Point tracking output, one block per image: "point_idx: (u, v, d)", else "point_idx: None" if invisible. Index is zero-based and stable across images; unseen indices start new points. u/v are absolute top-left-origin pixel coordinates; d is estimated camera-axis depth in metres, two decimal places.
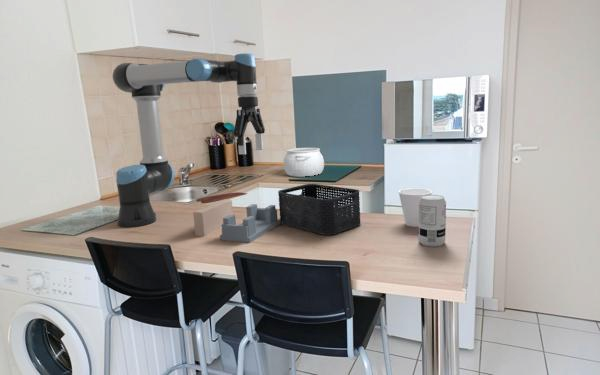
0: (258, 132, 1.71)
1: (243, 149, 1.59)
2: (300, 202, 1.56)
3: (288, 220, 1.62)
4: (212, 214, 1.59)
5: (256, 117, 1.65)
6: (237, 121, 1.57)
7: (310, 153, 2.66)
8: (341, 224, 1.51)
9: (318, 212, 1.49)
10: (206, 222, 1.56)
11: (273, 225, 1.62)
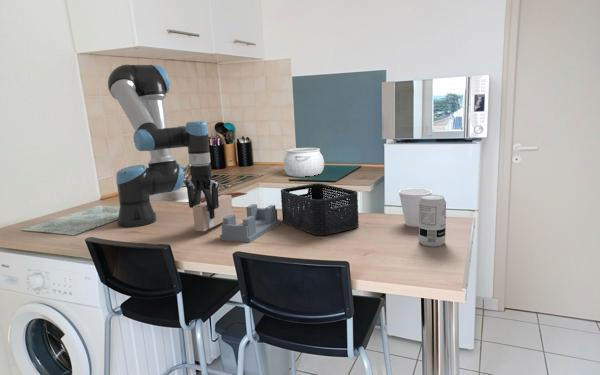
0: None
1: None
2: (297, 201, 1.57)
3: (288, 219, 1.64)
4: None
5: (203, 189, 1.54)
6: None
7: (310, 153, 2.66)
8: (334, 225, 1.50)
9: (311, 212, 1.49)
10: (206, 217, 1.56)
11: (273, 225, 1.62)
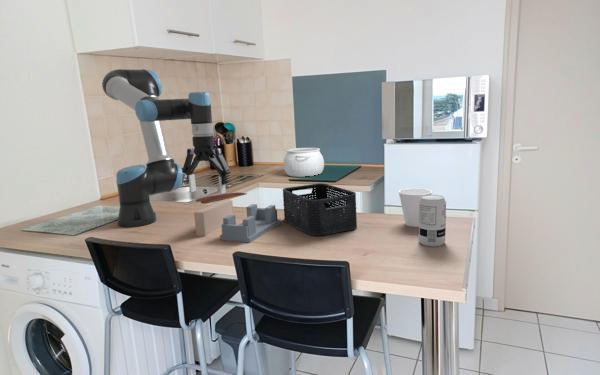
0: None
1: None
2: (295, 201, 1.58)
3: (288, 218, 1.66)
4: (213, 214, 1.59)
5: (208, 158, 1.54)
6: None
7: (310, 153, 2.66)
8: (329, 226, 1.49)
9: (306, 212, 1.50)
10: (207, 222, 1.56)
11: (273, 225, 1.62)
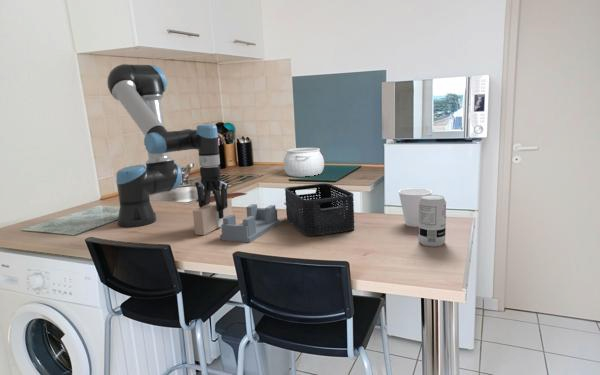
0: None
1: None
2: (294, 200, 1.59)
3: (289, 217, 1.67)
4: (212, 213, 1.59)
5: (213, 189, 1.60)
6: None
7: (310, 153, 2.66)
8: (324, 227, 1.49)
9: (302, 212, 1.50)
10: (206, 221, 1.56)
11: (273, 225, 1.62)
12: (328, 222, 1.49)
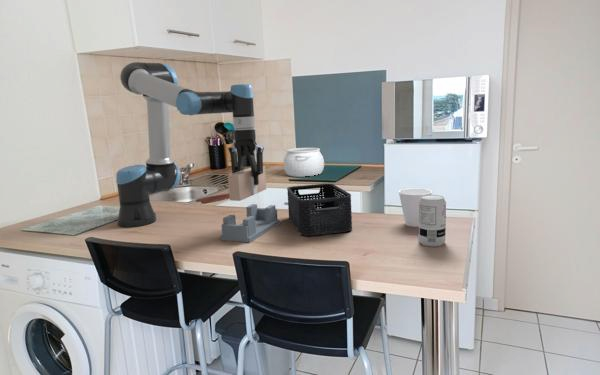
0: None
1: None
2: (293, 200, 1.59)
3: (290, 216, 1.68)
4: (247, 178, 1.50)
5: (248, 153, 1.51)
6: None
7: (310, 153, 2.66)
8: (320, 227, 1.49)
9: (298, 212, 1.51)
10: (242, 186, 1.47)
11: (273, 225, 1.62)
12: (324, 222, 1.49)
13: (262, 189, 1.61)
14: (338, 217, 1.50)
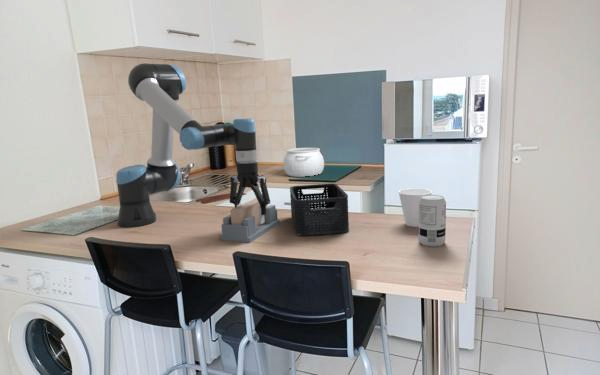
0: None
1: None
2: (292, 199, 1.60)
3: (292, 215, 1.69)
4: (249, 212, 1.53)
5: (251, 185, 1.53)
6: None
7: (310, 153, 2.66)
8: (315, 227, 1.49)
9: (294, 211, 1.52)
10: None
11: (273, 225, 1.62)
12: (319, 223, 1.49)
13: None
14: (333, 218, 1.49)
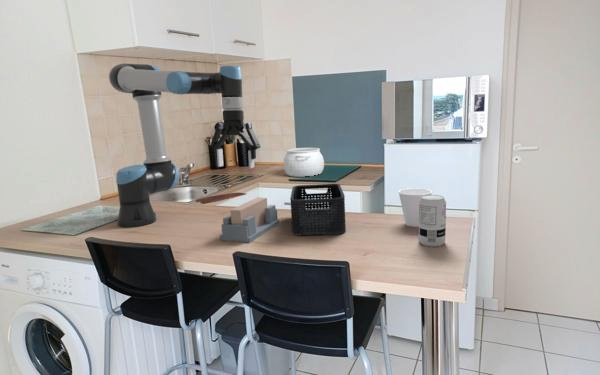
0: None
1: None
2: None
3: None
4: (249, 212, 1.53)
5: (238, 132, 1.55)
6: None
7: (310, 153, 2.66)
8: (310, 227, 1.49)
9: None
10: None
11: (273, 225, 1.62)
12: (314, 223, 1.49)
13: (264, 221, 1.63)
14: (329, 218, 1.48)
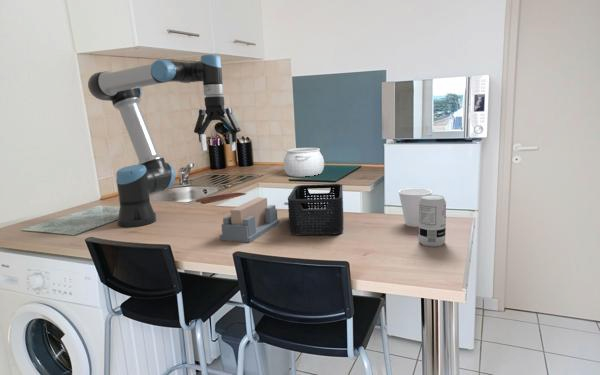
0: None
1: None
2: (292, 198, 1.62)
3: None
4: (249, 212, 1.53)
5: (219, 117, 1.65)
6: None
7: (310, 153, 2.66)
8: (306, 227, 1.49)
9: None
10: None
11: (273, 225, 1.62)
12: (310, 223, 1.49)
13: (264, 221, 1.63)
14: (325, 219, 1.48)
